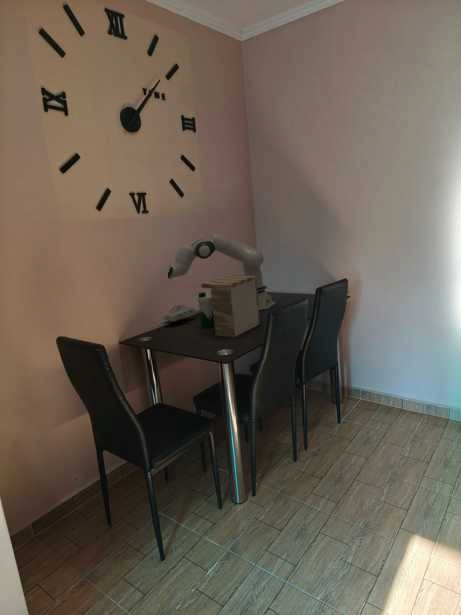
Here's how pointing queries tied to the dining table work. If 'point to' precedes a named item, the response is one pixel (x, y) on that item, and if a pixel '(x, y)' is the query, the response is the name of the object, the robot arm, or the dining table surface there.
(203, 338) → the dining table surface
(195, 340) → the dining table surface
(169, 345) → the dining table surface
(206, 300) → the milk carton
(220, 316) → the wooden shelf
